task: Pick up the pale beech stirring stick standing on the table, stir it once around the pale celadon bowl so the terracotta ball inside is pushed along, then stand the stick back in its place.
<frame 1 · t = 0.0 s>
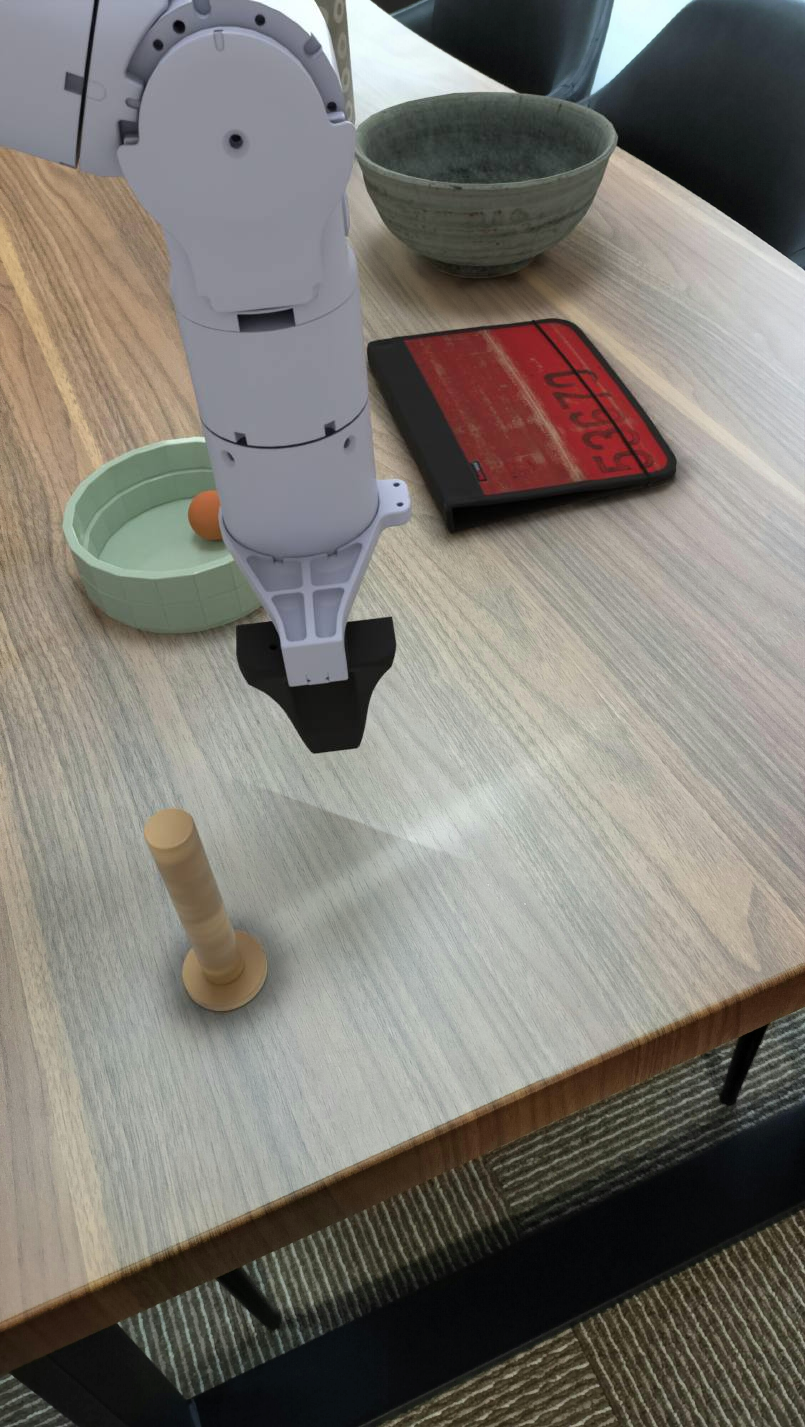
hand: (328, 677, 45), 8 cm above the table, tool pointing down, fingers open, 7 cm apart
mixing bowl: (193, 561, 63), on the table
ball: (213, 515, 63), point 2 cm above the table, touching mixing bowl
bowl: (483, 258, 88), on the table
notebook: (514, 423, 71), on the table
planter: (265, 161, 104), on the table
stick: (226, 972, 45), on the table
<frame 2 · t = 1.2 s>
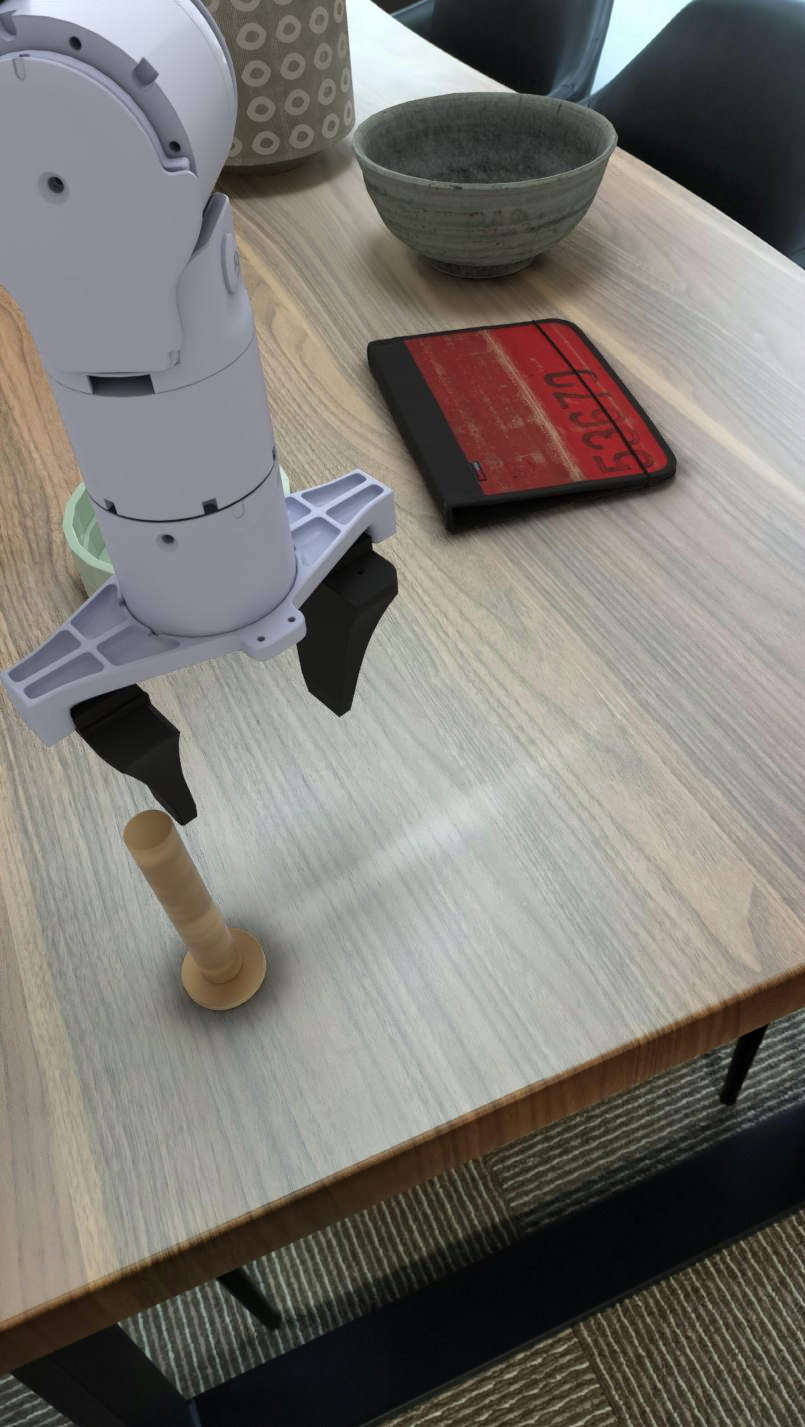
hand: (255, 751, 41), 9 cm above the table, tool pointing down, fingers open, 7 cm apart
stick: (225, 971, 45), on the table, touching gripper
everything else where it was.
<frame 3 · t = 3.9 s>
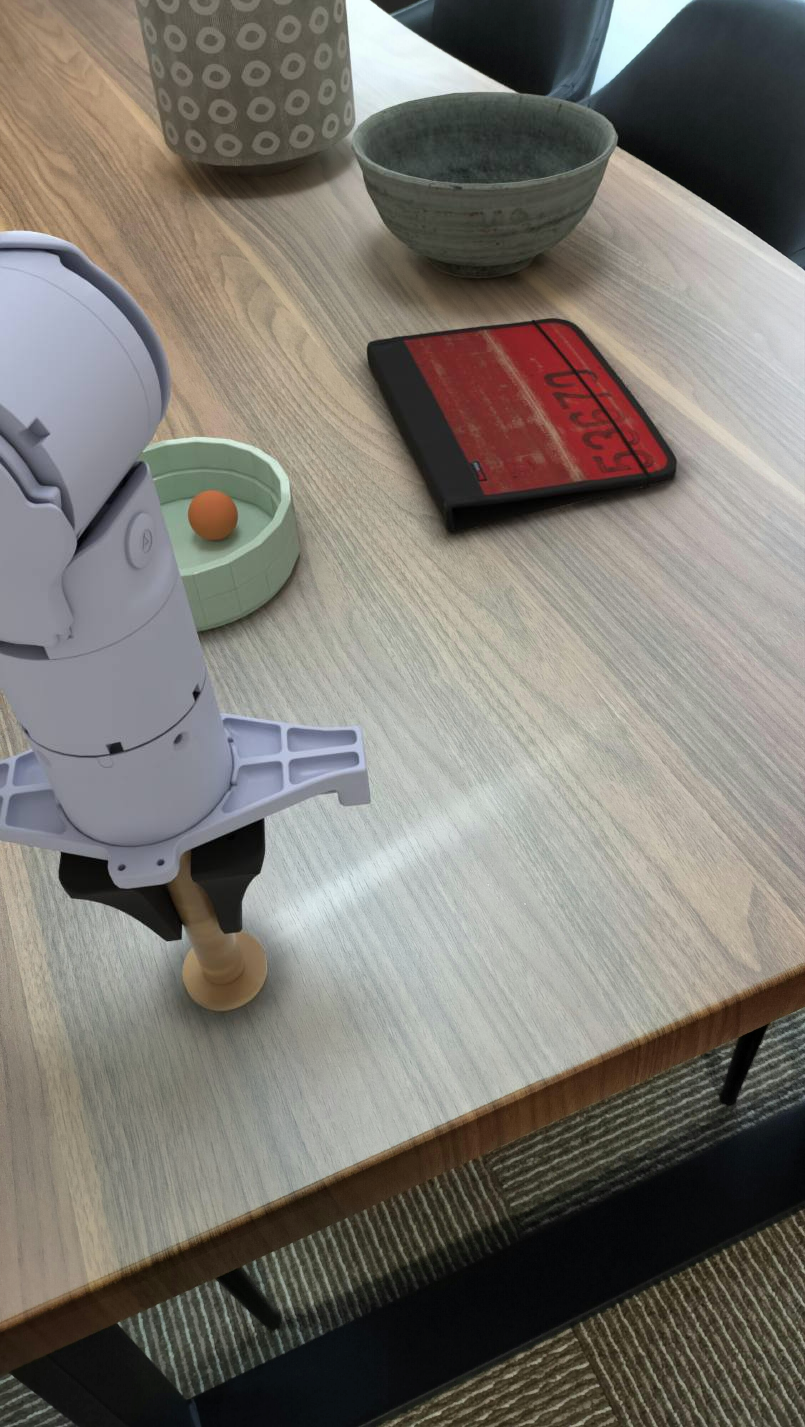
hand: (203, 915, 41), 5 cm above the table, tool pointing down, fingers closed on stick, 2 cm apart
stick: (226, 972, 45), on the table, touching gripper
everything else where it was.
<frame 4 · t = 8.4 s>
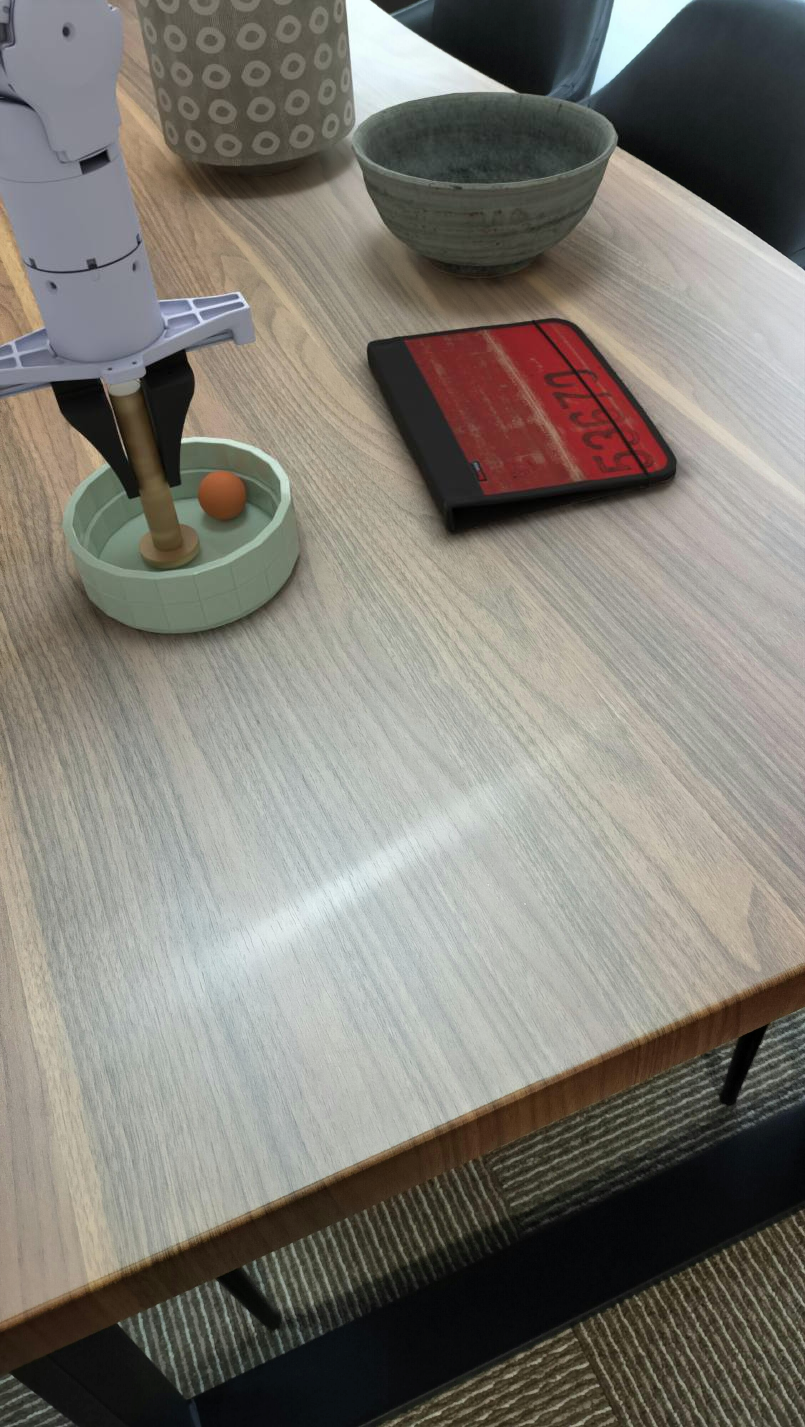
hand: (151, 482, 59), 6 cm above the table, tool pointing down, fingers closed on stick, 2 cm apart
ball: (222, 495, 64), point 2 cm above the table, tilted 72°, touching mixing bowl
stick: (170, 549, 62), point 1 cm above the table, touching gripper
everything else where it was.
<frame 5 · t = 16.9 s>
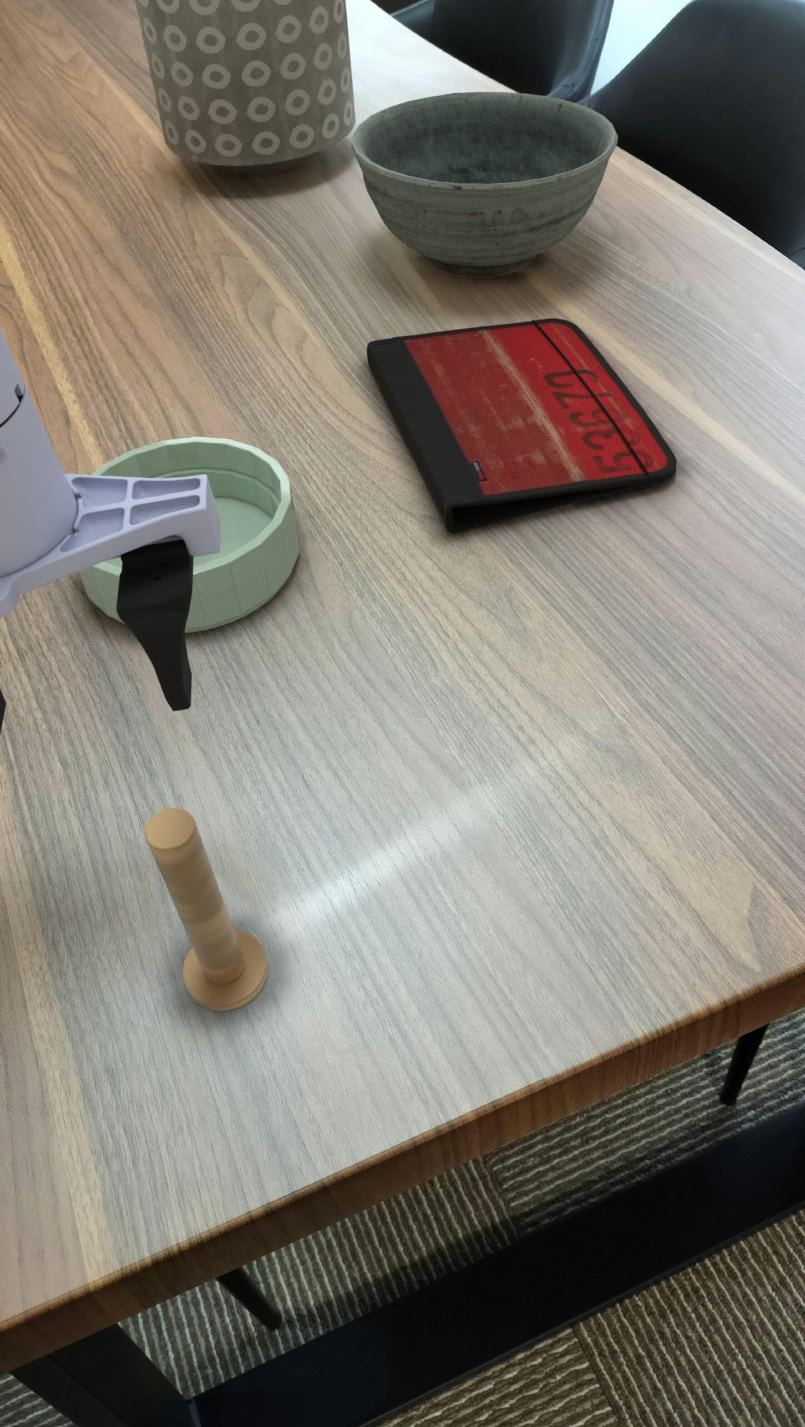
hand: (88, 707, 41), 10 cm above the table, tool pointing down, fingers open, 7 cm apart
ball: (176, 523, 62), point 2 cm above the table, tilted 72°, touching mixing bowl
stick: (226, 972, 45), on the table
everything else where it was.
at the end: ball moved 2.3 cm from its start; ball inside the target area in the mixing bowl (1.4 cm from its centre), point 2.1 cm above the mixing bowl's base; stick tilted 0° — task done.
